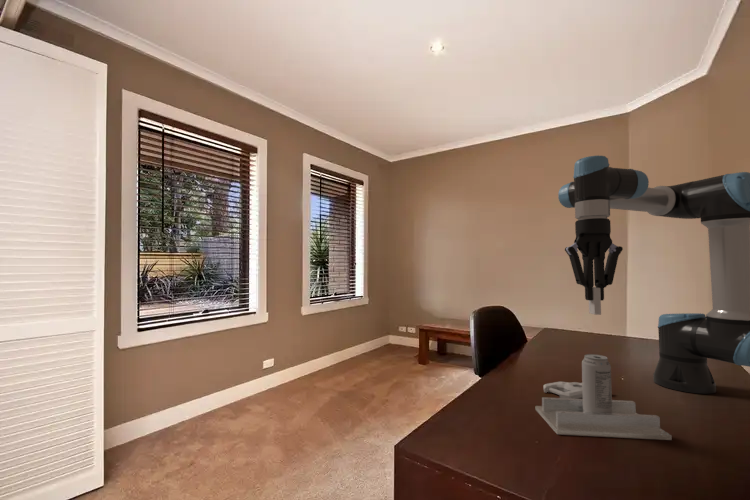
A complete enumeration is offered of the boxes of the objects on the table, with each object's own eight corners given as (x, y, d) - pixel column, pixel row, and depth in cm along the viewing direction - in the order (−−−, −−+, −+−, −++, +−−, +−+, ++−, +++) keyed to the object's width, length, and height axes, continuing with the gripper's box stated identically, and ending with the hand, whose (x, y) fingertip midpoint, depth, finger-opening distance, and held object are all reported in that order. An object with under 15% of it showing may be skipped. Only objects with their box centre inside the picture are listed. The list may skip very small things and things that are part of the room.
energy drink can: (598, 413, 89) (596, 353, 90) (618, 423, 83) (616, 359, 84) (577, 414, 88) (575, 354, 89) (596, 425, 82) (594, 360, 83)
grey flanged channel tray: (632, 413, 92) (631, 398, 92) (671, 440, 78) (671, 421, 78) (535, 409, 94) (535, 394, 94) (557, 434, 80) (556, 416, 80)
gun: (583, 374, 114) (612, 384, 105) (584, 384, 114) (613, 396, 105) (537, 382, 109) (564, 394, 99) (538, 393, 109) (564, 406, 99)
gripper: (611, 220, 92) (614, 312, 91) (558, 221, 93) (561, 311, 92) (629, 216, 85) (632, 316, 83) (572, 217, 86) (574, 315, 85)
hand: (595, 313), depth 88 cm, fingers closed
